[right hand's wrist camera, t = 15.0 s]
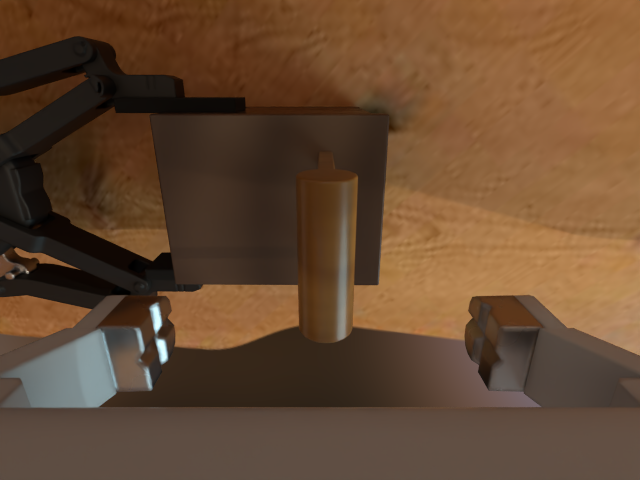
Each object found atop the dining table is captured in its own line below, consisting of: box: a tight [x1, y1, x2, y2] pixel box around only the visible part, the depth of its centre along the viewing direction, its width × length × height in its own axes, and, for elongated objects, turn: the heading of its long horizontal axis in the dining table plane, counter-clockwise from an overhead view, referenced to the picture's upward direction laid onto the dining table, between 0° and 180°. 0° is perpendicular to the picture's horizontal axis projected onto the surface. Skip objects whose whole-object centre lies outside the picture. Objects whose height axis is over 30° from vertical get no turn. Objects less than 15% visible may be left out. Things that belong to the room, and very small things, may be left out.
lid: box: [150, 113, 389, 343], centre depth 17 cm, size 12×9×9 cm
